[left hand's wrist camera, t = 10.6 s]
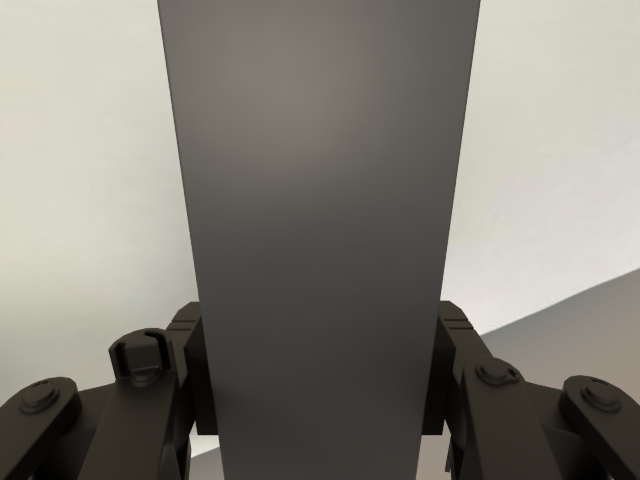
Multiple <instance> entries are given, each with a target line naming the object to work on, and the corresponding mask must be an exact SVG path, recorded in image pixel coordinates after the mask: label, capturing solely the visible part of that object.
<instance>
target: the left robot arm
mask: <svg viewBox="0 0 640 480" xmlns="http://www.w3.org/2000/svg"><path fill="white" fill-rule="evenodd" d="M108 351H109V355H110V358H111V362H112V366H113V370H114V374H115V378H116V380H115V383H112V384H108V385H105V386H101V387H96V388H92V389H87V390H83V391H78V389H77V386H76V383H75V382H74V381H73V380H72V379H70V378H65V377H55V378H48V379H45V380H42V381H38V382H36V383H33V384H31V385H29V386H28V387H26V388H24V389H22V390H20V391H19V392H18V393H16V394H15V395H14V396H12V397H11V398H10V399H9V400H8V401H7V402H6V403H5V404H4V405H3V406H1V407H0V480H189V470H190V459H191V444H190V438H189V434H190V432H191V429H192V426H193V424H194V421H195V422H196V428H197V434H198V435H218V429H217V422H216V415H215V408H214V401H213V394H212V387H211V380H210V373H209V366H208V358H207V351H206V344H205V337H204V330H203V323H202V316H201V309H200V302H190V303H188V304H187V305H185V306H184V307H183V308H181V309H180V310H178V312H177V313H176V315H175V316H174V318H173V319H172V323H170V324H169V325H168V327H167V328H166V330H163V329H159V328H146V329H141V330H137V331H133V332H131V333H129V334H126V335H124V336H122V337H121V338H119V339H118V340H117V341H115V342H114V343H113V344H112V346H111V347H110V348H109V349H108ZM444 420H446V423H447V425H448V428H449V430H450V433H451V438H450V444H449V449H448V455H447V461H446V467H445V472H450V469H451V479H452V480H612V479H614V480H640V406H639V405H638V404H637V403H636V402H635V401H634V400H633V399H632V398H631V397H630V396H629V395H627V394H626V393H625V392H623V391H622V390H621V389H620V388H618V387H616V386H614V385H612V384H610V383H608V382H606V381H603V380H601V379H598V378H594V377H590V376H582V375H578V376H572V377H569V378H568V379H567V380H565V381H564V385H563V388H562V390H559V389H555V388H550V387H546V386H541V385H537V384H533V383H530V382H526V381H525V380H524V378H523V376H522V375H521V373H520V372H519V371H518V370H517V369H516V368H514V367H513V366H512V365H511V364H509V363H507V362H505V361H503V360H501V359H498V358H494V357H493V356H492V354H491V353H490V351H489V350H488V348H487V347H486V345H485V344H484V342H483V341H482V339H481V338H480V336H479V335H478V333H477V332H476V330H474V327H473V326H472V324H471V323H470V321H468V318H467V317H466V315H465V314H464V312H463V311H462V309H460V308H459V307H457V306H456V305H455V304H453V303H452V302H450V301H440V303H439V311H438V318H437V325H436V333H435V340H434V348H433V355H432V362H431V370H430V377H429V384H428V392H427V399H426V407H425V414H424V421H423V429H422V435H442V432H443V426H444Z"/></svg>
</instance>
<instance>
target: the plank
mask: <svg viewBox="0 0 640 480" xmlns="http://www.w3.org/2000/svg"><path fill="white" fill-rule="evenodd" d="M480 1H481V0H157V4H158V11H159V18H160V25H161V32H162V39H163V46H164V53H165V60H166V68H167V75H168V82H169V89H170V96H171V103H172V110H173V117H174V124H175V131H176V138H177V146H178V153H179V160H180V167H181V174H182V181H183V188H184V195H185V202H186V209H187V217H188V224H189V231H190V238H191V245H192V252H193V259H194V266H195V273H196V280H197V287H198V295H199V302H200V309H201V316H202V323H203V330H204V337H205V344H206V351H207V358H208V366H209V373H210V380H211V387H212V394H213V401H214V408H215V415H216V422H217V429H218V436H219V444H220V451H221V458H222V465H223V472H224V479H225V480H416V473H417V466H418V458H419V451H420V443H421V436H422V429H423V421H424V414H425V407H426V399H427V392H428V384H429V377H430V370H431V362H432V355H433V348H434V340H435V333H436V325H437V318H438V311H439V303H440V296H441V289H442V281H443V274H444V267H445V259H446V252H447V244H448V237H449V230H450V222H451V215H452V208H453V200H454V193H455V185H456V178H457V171H458V163H459V156H460V149H461V141H462V134H463V126H464V119H465V112H466V104H467V97H468V90H469V82H470V75H471V67H472V60H473V53H474V45H475V38H476V31H477V23H478V16H479V8H480Z"/></svg>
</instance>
